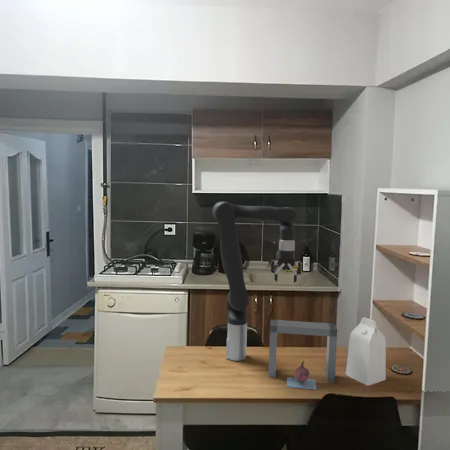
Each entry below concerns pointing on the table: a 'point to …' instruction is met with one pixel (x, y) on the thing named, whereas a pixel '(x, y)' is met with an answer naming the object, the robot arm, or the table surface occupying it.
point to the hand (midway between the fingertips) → (285, 282)
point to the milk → (367, 353)
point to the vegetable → (302, 373)
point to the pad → (298, 384)
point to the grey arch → (304, 329)
